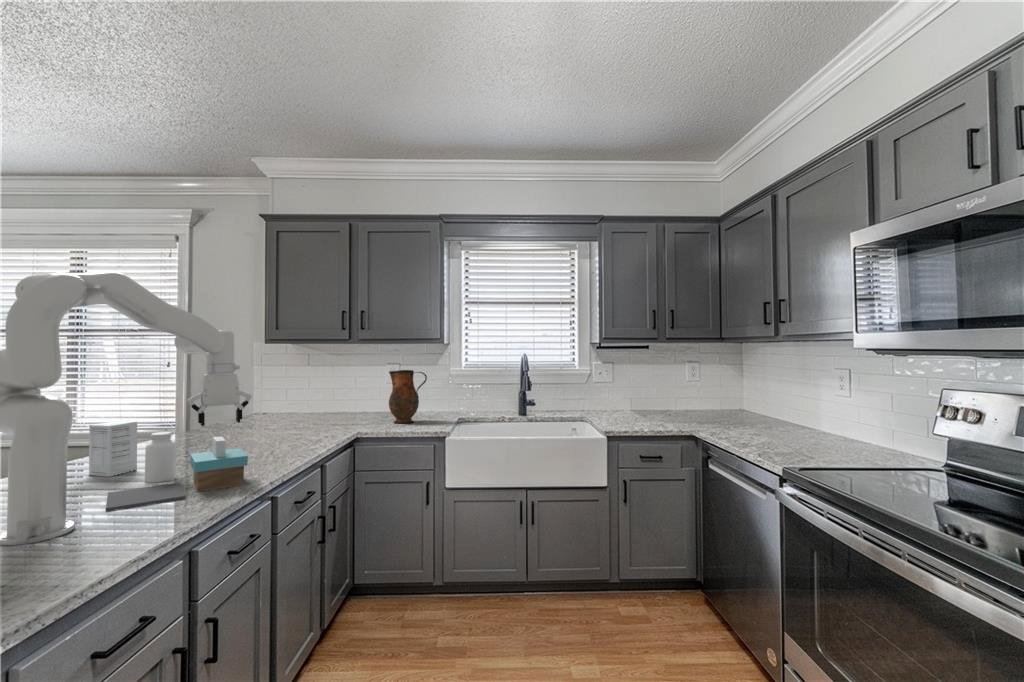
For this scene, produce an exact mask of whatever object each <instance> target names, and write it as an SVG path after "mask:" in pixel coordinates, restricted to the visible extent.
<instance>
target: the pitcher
mask: <svg viewBox="0 0 1024 682" xmlns="http://www.w3.org/2000/svg"><path fill="white" fill-rule="evenodd" d="M388 373H389V375H390V378H391V382H392V383H391V384H392V385H391V386H392V387H391V388H392V389H391V390H392V391H391V393H390V396H389V399H388V408H389V410H390V413H391V414H392V416H393V417H394V418H395V420H394V421H393V424H399V425H403V424H404V425H407V424H408V425H409V424H413V423H414V420H412V418H413V417H414V415H415V414H416V413H417V411H418V408H419V403H420V400H419V393H418V391H419V389H420V388H421V387H422V386H423V385H424V384H425V383H426V382H427V379H428V378H427V374H426V373H424V372H422V371H415V370H413V369H402V370H393V371H392V370H390V371H389V372H388ZM417 373H419V374H423V375H424V378H425V379H424V381H423V382H422V383H421V384H420V385H419V386H418V387H417V389H416V387H415V383H414V375H415V374H417Z"/></svg>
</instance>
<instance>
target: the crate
mask: <svg viewBox="0 0 1024 682" xmlns="http://www.w3.org/2000/svg"><path fill="white" fill-rule="evenodd" d="M244 475H245V466H239V467H232V468H224V469H217V470H209V471H202V472H194V471H193V481H192V482H193V485H194V486H195V489H196V491H197V492H205V491H210V490H216V489H217V490H218V489H224V488H230V487H237V486H243V485H244V483H245V481H244V480H245V479H244Z"/></svg>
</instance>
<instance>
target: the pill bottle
mask: <svg viewBox="0 0 1024 682" xmlns="http://www.w3.org/2000/svg"><path fill="white" fill-rule="evenodd" d="M144 458H145V460H144V482H145V481H146V482H145V483H149V482H150V483H151V484H154V483H156V482H158V483H163V482H168V481H172V480H174V479H175V477H176V464H177V463H176V461H177V459H176V458H177V443H176V442H175V441H174V440H172V432H171V431H159V432H153V433H151V434H150V442H148V443H147V444H146V445H145V456H144ZM156 484H157V483H156Z"/></svg>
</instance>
